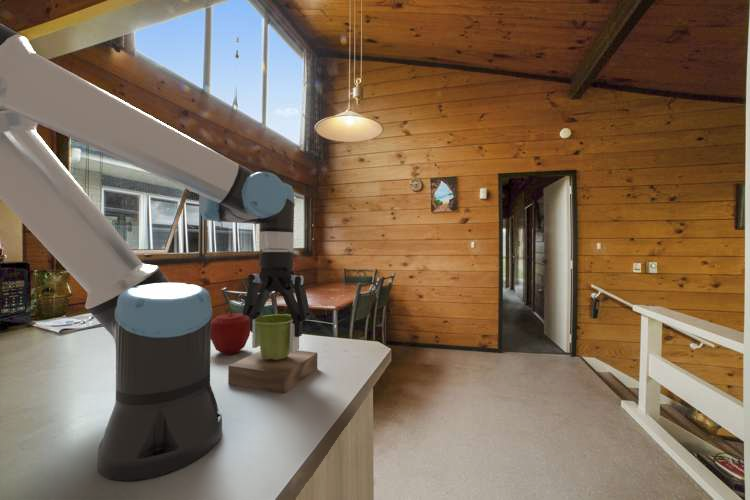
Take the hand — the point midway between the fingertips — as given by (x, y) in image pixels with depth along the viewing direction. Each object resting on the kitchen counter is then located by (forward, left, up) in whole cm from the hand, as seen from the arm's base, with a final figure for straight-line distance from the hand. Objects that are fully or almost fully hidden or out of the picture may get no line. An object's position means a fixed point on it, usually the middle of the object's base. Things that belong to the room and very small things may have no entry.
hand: (275, 348), depth 72 cm
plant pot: (0, 0, -2) cm, 2 cm away
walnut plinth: (0, 0, -6) cm, 6 cm away
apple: (+10, +22, -7) cm, 25 cm away
